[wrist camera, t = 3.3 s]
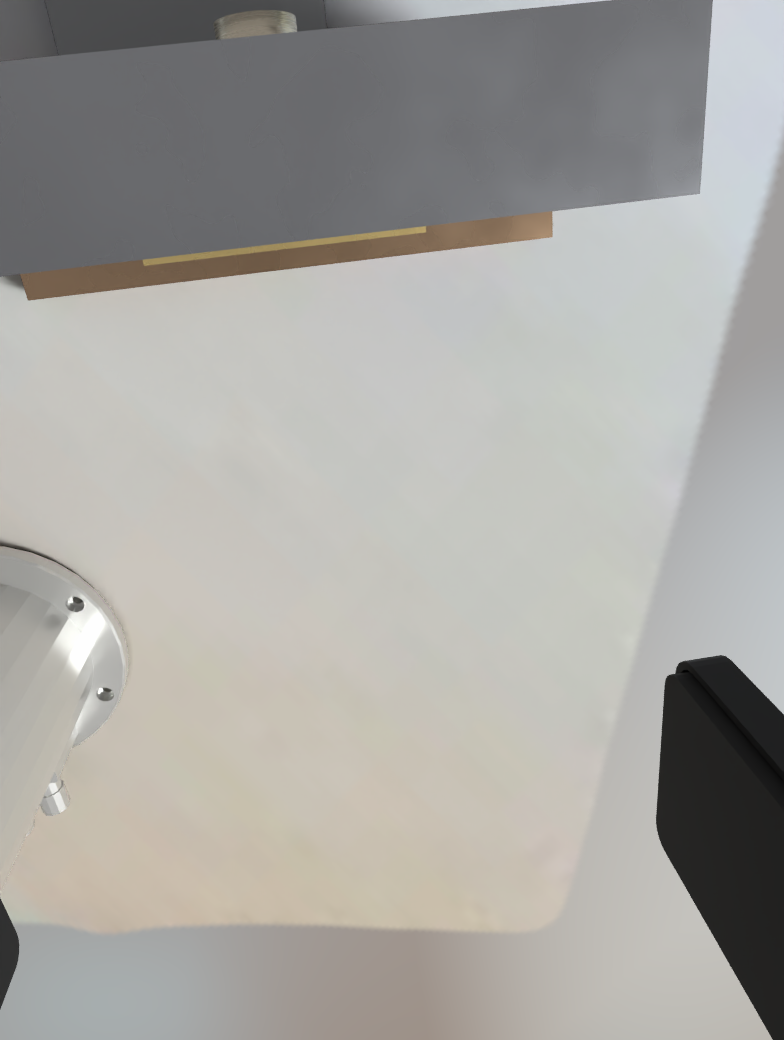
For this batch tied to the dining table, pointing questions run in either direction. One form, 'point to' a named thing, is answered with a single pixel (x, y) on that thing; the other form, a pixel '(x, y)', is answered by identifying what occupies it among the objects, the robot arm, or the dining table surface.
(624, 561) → the dining table surface
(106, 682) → the robot arm
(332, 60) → the box
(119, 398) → the dining table surface
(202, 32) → the parts mat
